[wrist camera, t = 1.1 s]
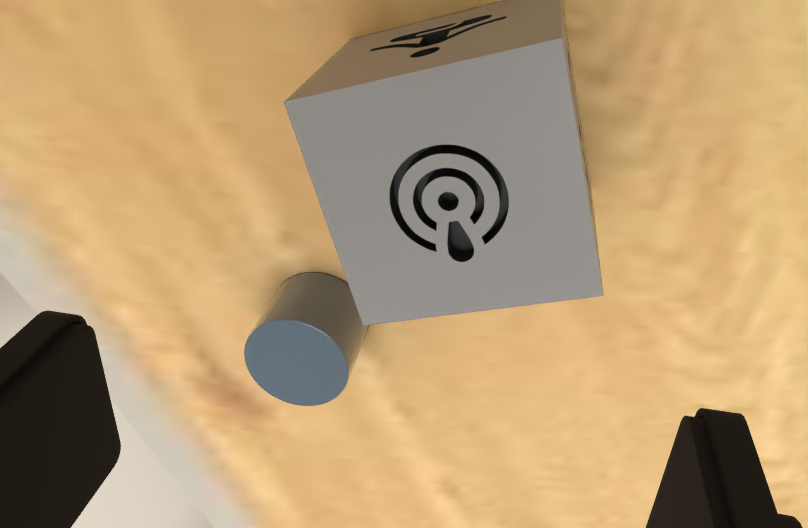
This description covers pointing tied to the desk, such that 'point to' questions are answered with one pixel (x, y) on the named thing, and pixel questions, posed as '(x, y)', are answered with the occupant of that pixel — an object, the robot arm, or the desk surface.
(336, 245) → the icon cube
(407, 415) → the desk surface
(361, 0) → the desk surface
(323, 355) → the short metal cylinder
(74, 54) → the desk surface
